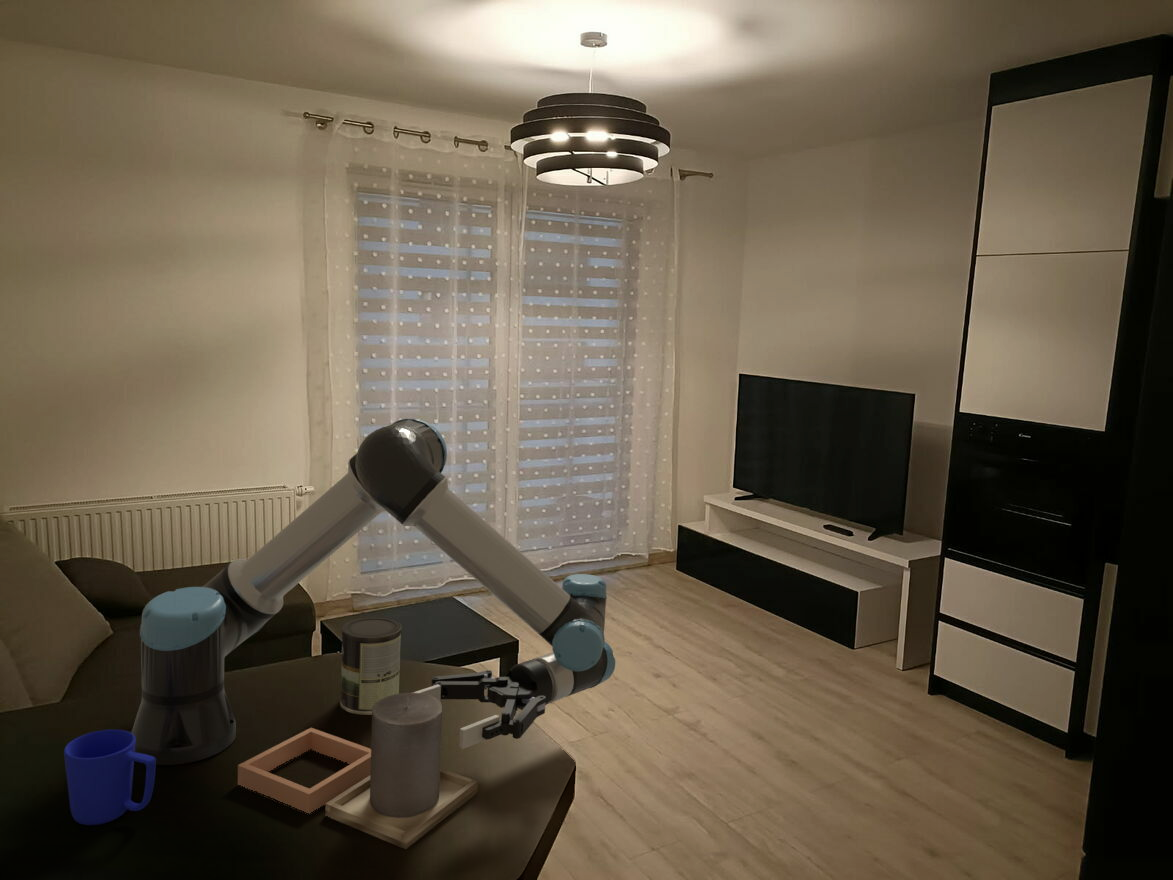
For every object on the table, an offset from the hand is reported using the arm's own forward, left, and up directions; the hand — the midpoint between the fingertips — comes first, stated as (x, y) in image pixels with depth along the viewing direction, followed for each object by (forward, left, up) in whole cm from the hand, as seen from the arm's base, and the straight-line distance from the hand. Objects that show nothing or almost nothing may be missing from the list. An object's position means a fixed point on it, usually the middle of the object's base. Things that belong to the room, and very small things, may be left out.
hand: (431, 721), depth 119 cm
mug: (-32, -27, -11) cm, 43 cm away
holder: (-18, -6, -11) cm, 22 cm away
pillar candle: (-1, -4, -11) cm, 11 cm away
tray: (-2, -4, -11) cm, 12 cm away
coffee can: (-28, +18, -11) cm, 35 cm away
